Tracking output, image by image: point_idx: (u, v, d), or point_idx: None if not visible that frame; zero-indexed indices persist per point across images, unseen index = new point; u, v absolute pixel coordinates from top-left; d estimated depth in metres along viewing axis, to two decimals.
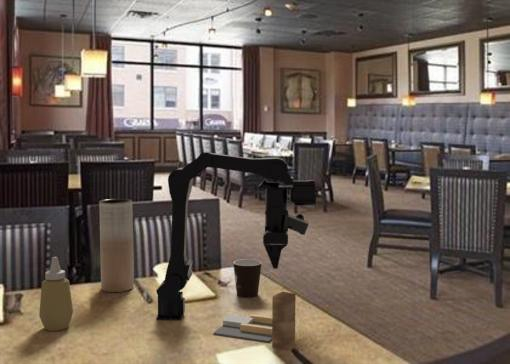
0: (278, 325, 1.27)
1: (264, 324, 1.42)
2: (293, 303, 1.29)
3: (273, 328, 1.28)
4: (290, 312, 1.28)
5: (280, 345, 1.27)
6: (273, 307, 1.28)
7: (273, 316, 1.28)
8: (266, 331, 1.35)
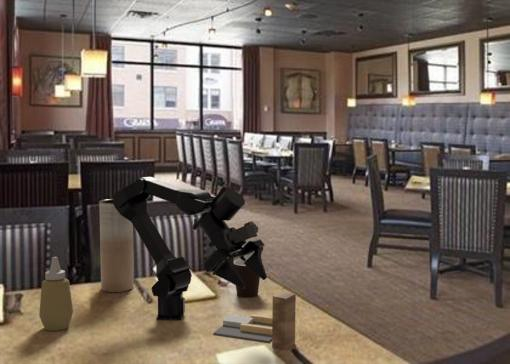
0: (278, 325, 1.27)
1: (264, 324, 1.42)
2: (293, 303, 1.29)
3: (273, 328, 1.28)
4: (290, 312, 1.28)
5: (280, 345, 1.27)
6: (273, 307, 1.28)
7: (273, 316, 1.28)
8: (266, 331, 1.35)
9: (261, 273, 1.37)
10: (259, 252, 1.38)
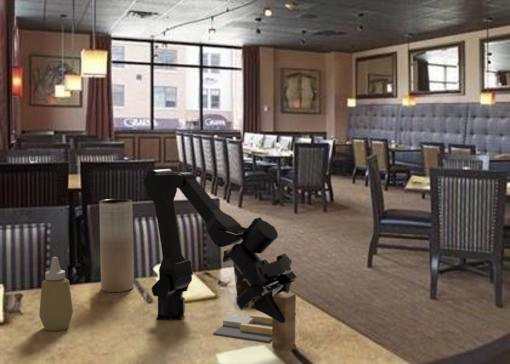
0: (278, 325, 1.27)
1: (264, 324, 1.42)
2: (293, 303, 1.29)
3: (273, 328, 1.28)
4: (290, 311, 1.28)
5: (280, 345, 1.27)
6: None
7: None
8: (266, 331, 1.35)
9: None
10: (287, 287, 1.32)
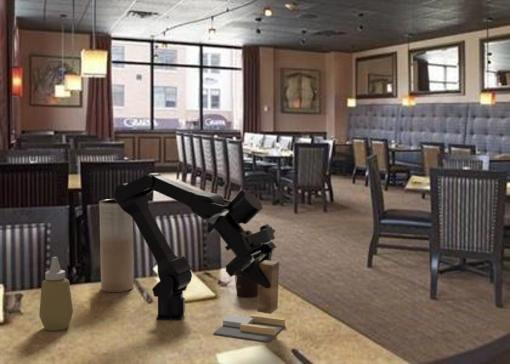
0: (263, 291, 1.35)
1: (264, 324, 1.42)
2: (277, 270, 1.37)
3: (258, 294, 1.35)
4: (274, 278, 1.36)
5: (265, 310, 1.35)
6: None
7: None
8: (266, 331, 1.35)
9: None
10: (269, 256, 1.40)
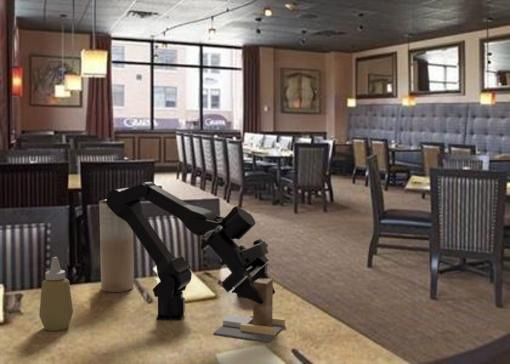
0: (259, 309, 1.38)
1: None
2: (271, 287, 1.40)
3: (254, 312, 1.38)
4: (269, 295, 1.39)
5: None
6: None
7: None
8: (266, 331, 1.35)
9: None
10: (265, 268, 1.44)
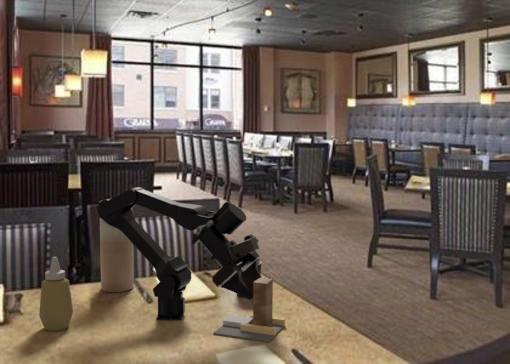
0: (259, 309, 1.38)
1: None
2: (271, 287, 1.40)
3: (254, 312, 1.38)
4: (269, 295, 1.39)
5: None
6: (254, 292, 1.38)
7: (254, 300, 1.38)
8: (266, 331, 1.35)
9: None
10: (257, 263, 1.46)
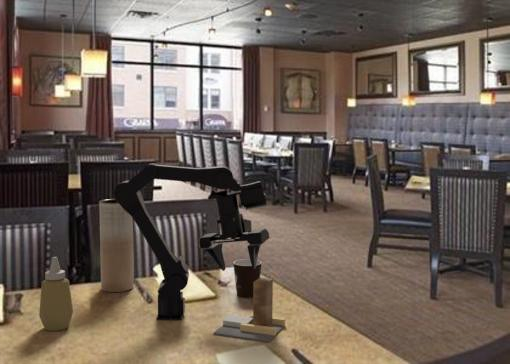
0: (259, 309, 1.38)
1: None
2: (271, 287, 1.40)
3: (254, 312, 1.38)
4: (269, 295, 1.39)
5: None
6: (254, 292, 1.38)
7: (254, 300, 1.38)
8: (266, 331, 1.35)
9: (223, 264, 1.51)
10: None
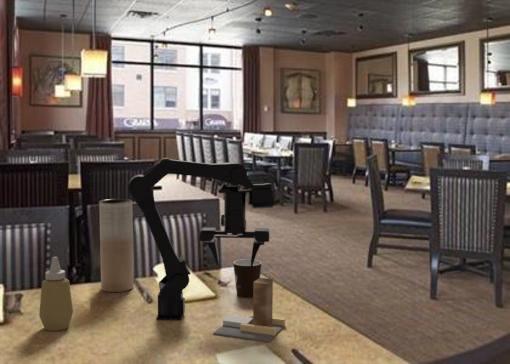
0: (259, 309, 1.38)
1: None
2: (271, 287, 1.40)
3: (254, 312, 1.38)
4: (269, 295, 1.39)
5: None
6: (254, 292, 1.38)
7: (254, 300, 1.38)
8: (266, 331, 1.35)
9: (218, 259, 1.52)
10: None
